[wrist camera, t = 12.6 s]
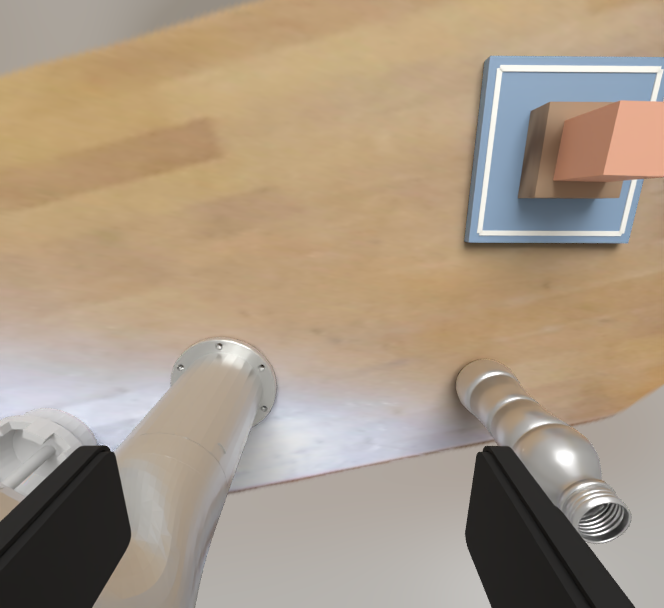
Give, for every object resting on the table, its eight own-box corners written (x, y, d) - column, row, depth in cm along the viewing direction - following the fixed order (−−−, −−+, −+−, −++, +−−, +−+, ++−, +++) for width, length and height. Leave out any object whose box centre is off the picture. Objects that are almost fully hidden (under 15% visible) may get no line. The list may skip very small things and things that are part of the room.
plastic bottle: (439, 379, 42) (532, 527, 22) (481, 341, 40) (619, 465, 21) (473, 410, 43) (589, 575, 24) (515, 374, 42) (674, 519, 22)
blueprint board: (618, 242, 37) (628, 243, 36) (464, 241, 37) (469, 242, 36) (661, 62, 32) (674, 56, 31) (484, 61, 32) (490, 55, 31)
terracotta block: (606, 182, 31) (668, 176, 26) (552, 180, 31) (603, 174, 26) (620, 122, 30) (689, 102, 24) (564, 120, 30) (620, 100, 24)
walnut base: (595, 198, 35) (619, 197, 32) (517, 198, 35) (534, 197, 32) (613, 111, 32) (641, 102, 30) (530, 110, 32) (550, 101, 30)
